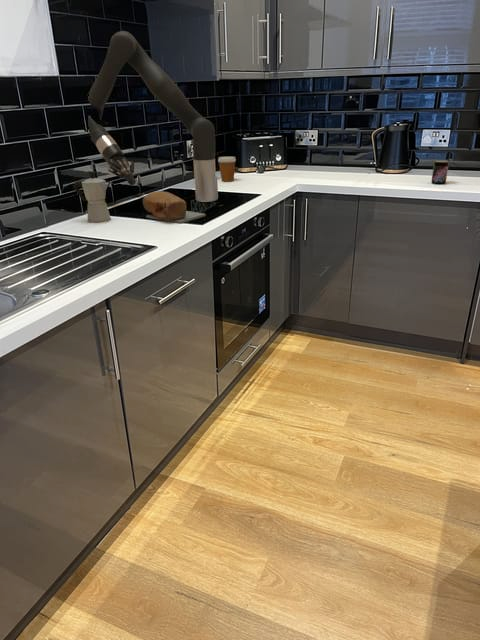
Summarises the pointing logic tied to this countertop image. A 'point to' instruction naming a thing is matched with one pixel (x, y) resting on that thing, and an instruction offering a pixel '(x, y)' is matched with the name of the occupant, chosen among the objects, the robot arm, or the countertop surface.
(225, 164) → the disposable coffee cup
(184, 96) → the robot arm
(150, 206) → the block
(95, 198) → the coffee maker
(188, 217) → the mat
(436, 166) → the supplement container
